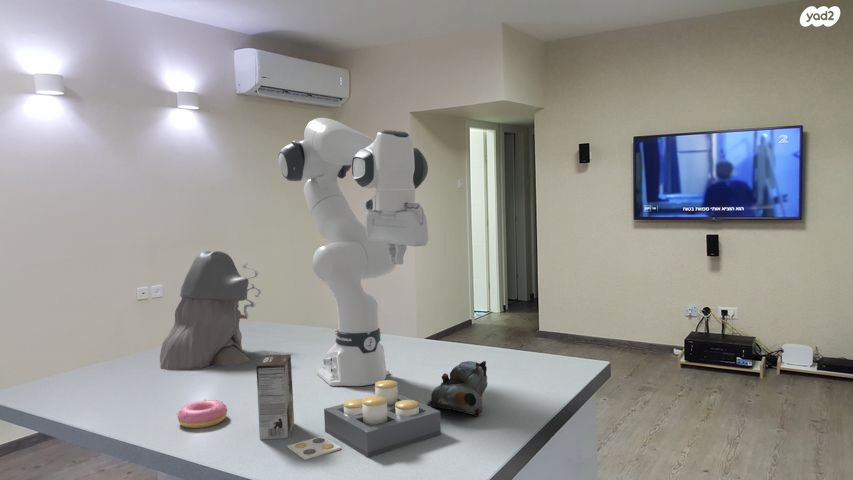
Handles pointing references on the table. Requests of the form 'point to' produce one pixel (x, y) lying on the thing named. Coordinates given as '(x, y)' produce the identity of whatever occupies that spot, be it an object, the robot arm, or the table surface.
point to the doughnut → (202, 414)
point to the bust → (208, 316)
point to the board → (382, 428)
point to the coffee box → (275, 396)
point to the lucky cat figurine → (462, 389)
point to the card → (314, 447)
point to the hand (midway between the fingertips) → (396, 263)
